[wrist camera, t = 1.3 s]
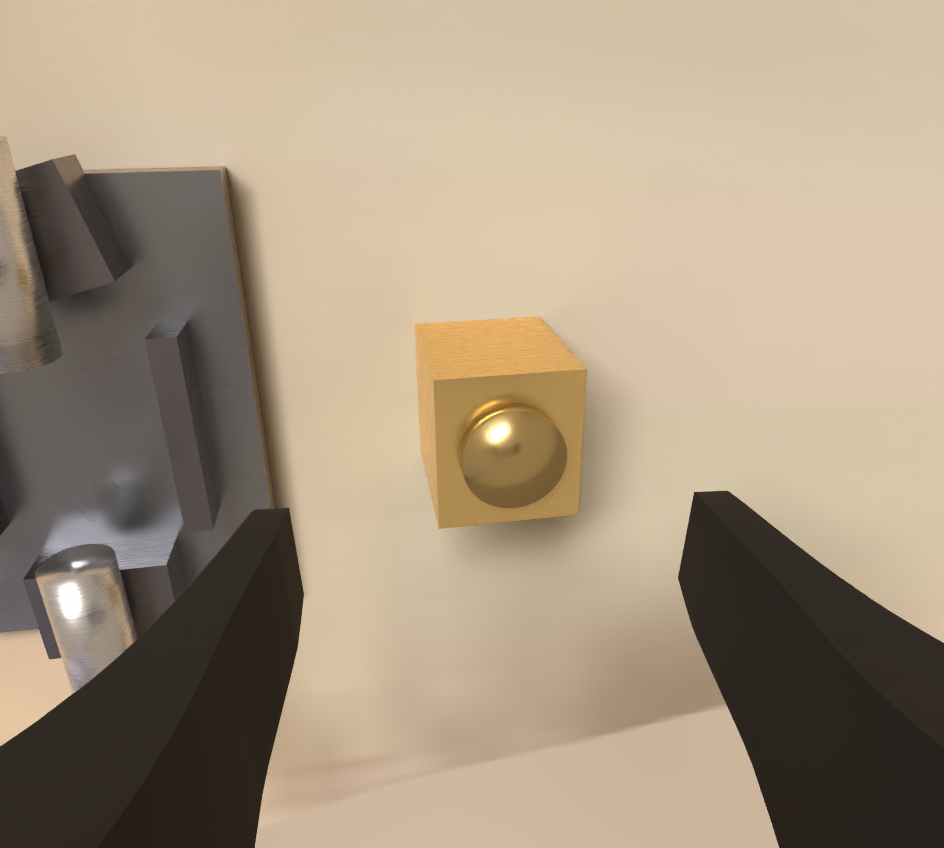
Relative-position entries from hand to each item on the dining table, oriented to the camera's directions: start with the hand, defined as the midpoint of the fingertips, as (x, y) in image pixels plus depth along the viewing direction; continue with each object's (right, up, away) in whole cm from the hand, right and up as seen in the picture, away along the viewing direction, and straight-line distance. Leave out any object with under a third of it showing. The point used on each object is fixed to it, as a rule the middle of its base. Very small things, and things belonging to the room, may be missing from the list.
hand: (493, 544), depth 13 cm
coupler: (0, +3, +11) cm, 11 cm away
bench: (-12, +2, +9) cm, 15 cm away
